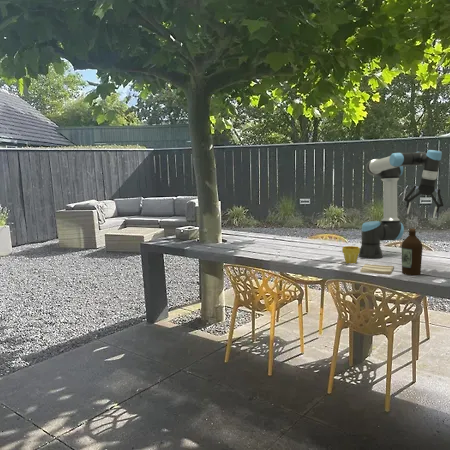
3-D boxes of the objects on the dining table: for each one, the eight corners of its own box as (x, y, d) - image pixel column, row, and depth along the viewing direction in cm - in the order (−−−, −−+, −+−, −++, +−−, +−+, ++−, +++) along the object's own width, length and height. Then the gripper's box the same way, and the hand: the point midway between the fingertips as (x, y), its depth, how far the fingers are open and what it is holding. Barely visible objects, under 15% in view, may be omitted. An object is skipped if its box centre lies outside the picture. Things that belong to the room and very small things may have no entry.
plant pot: (349, 265, 262) (349, 249, 260) (338, 262, 271) (339, 246, 270) (363, 263, 266) (363, 247, 264) (352, 260, 275) (352, 245, 274)
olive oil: (410, 270, 243) (411, 227, 240) (426, 274, 233) (427, 229, 230) (396, 273, 239) (397, 228, 236) (411, 276, 229) (413, 230, 226)
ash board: (365, 266, 257) (365, 264, 256) (393, 268, 249) (393, 266, 249) (360, 272, 243) (360, 269, 242) (390, 274, 235) (390, 271, 235)
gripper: (404, 175, 237) (397, 212, 243) (454, 182, 229) (445, 220, 234) (404, 174, 244) (397, 210, 250) (452, 181, 236) (444, 218, 241)
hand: (420, 215), depth 242 cm, fingers open, 13 cm apart
